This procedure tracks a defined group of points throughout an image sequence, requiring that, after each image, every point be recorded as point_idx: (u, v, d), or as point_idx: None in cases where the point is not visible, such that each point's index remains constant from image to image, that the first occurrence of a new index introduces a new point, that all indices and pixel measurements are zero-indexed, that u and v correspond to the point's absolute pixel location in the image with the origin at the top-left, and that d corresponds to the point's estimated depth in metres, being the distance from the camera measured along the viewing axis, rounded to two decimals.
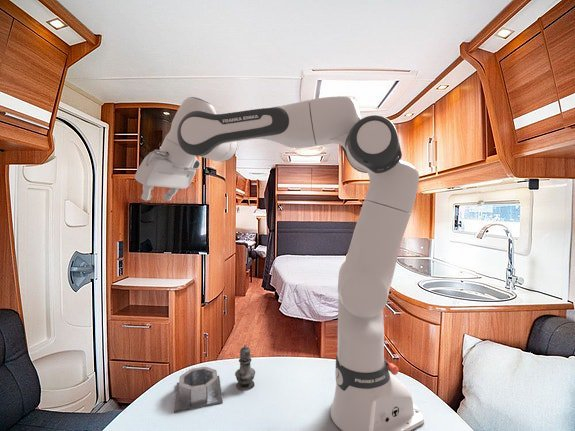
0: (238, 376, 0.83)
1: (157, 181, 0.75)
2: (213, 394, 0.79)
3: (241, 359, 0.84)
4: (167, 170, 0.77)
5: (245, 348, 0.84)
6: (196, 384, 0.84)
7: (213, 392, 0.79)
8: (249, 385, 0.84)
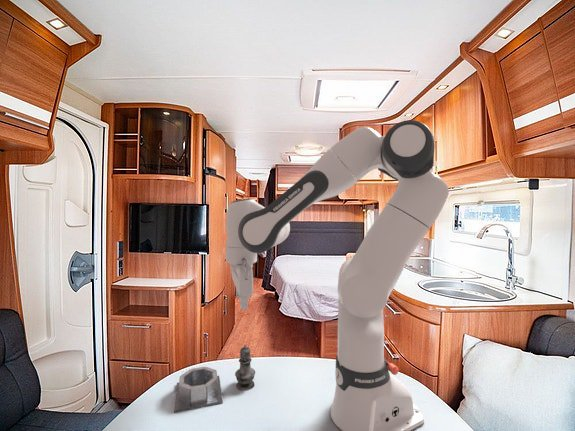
0: (238, 376, 0.83)
1: None
2: (213, 394, 0.79)
3: (241, 359, 0.84)
4: None
5: (245, 348, 0.84)
6: (196, 384, 0.84)
7: (213, 392, 0.79)
8: (249, 385, 0.84)
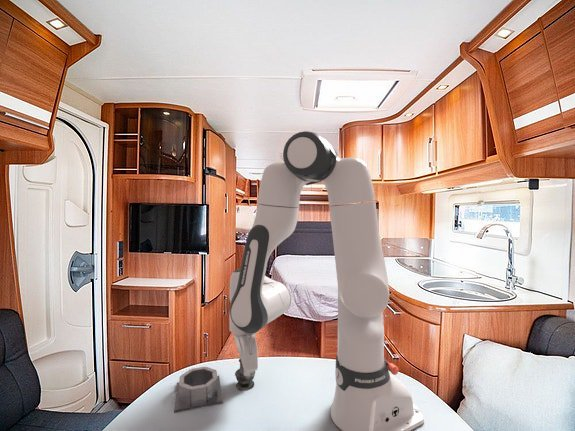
0: (238, 376, 0.83)
1: None
2: (213, 394, 0.79)
3: None
4: None
5: None
6: (196, 384, 0.84)
7: (213, 392, 0.79)
8: (249, 385, 0.84)
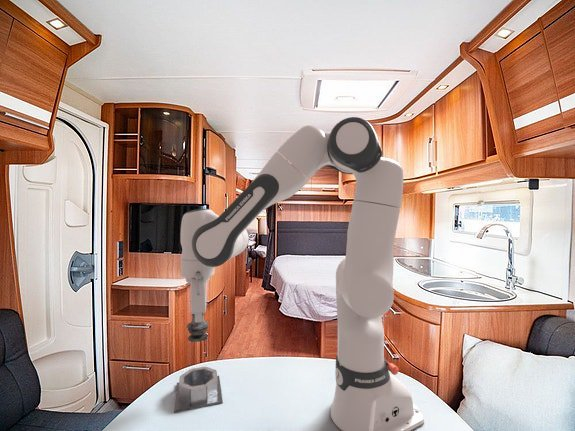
0: (189, 327, 0.78)
1: None
2: (213, 394, 0.79)
3: None
4: None
5: None
6: (196, 384, 0.84)
7: (213, 392, 0.79)
8: (201, 337, 0.79)
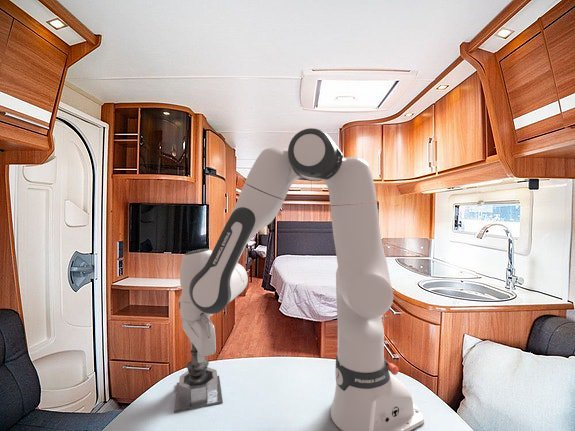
0: (191, 368, 0.78)
1: None
2: (213, 394, 0.79)
3: (193, 350, 0.79)
4: None
5: None
6: (196, 384, 0.84)
7: (213, 392, 0.79)
8: (202, 376, 0.80)
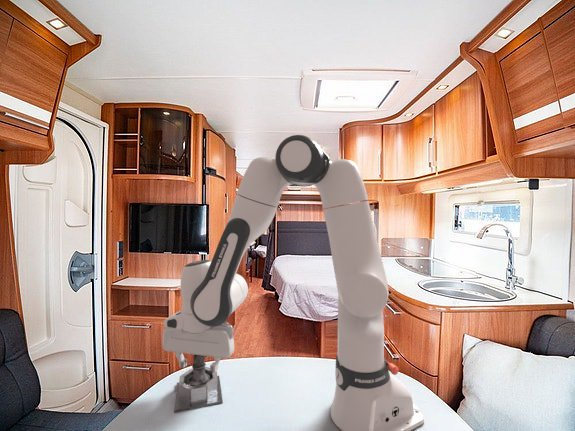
0: (199, 383, 0.78)
1: None
2: (213, 394, 0.79)
3: (199, 365, 0.79)
4: None
5: None
6: None
7: (213, 392, 0.79)
8: None
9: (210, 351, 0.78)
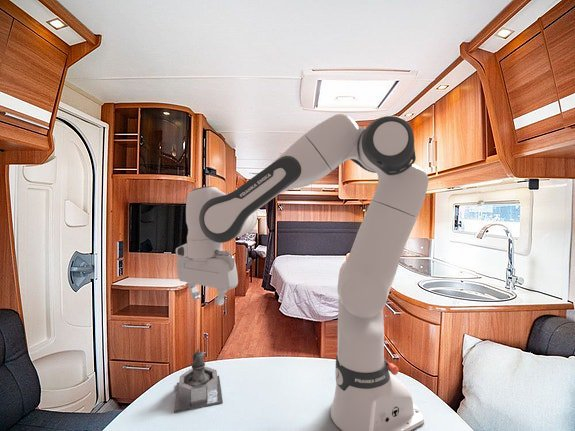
0: (199, 383, 0.78)
1: None
2: (213, 394, 0.79)
3: (198, 365, 0.79)
4: None
5: (199, 352, 0.80)
6: None
7: (213, 392, 0.79)
8: None
9: (212, 281, 0.72)
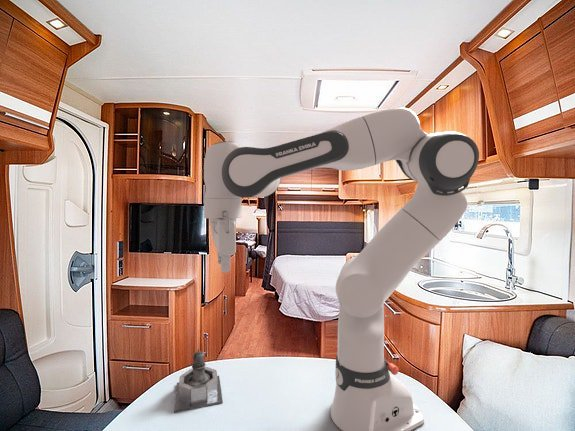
0: (199, 383, 0.78)
1: None
2: (213, 394, 0.79)
3: (198, 365, 0.79)
4: None
5: (200, 352, 0.80)
6: None
7: (213, 392, 0.79)
8: None
9: None
